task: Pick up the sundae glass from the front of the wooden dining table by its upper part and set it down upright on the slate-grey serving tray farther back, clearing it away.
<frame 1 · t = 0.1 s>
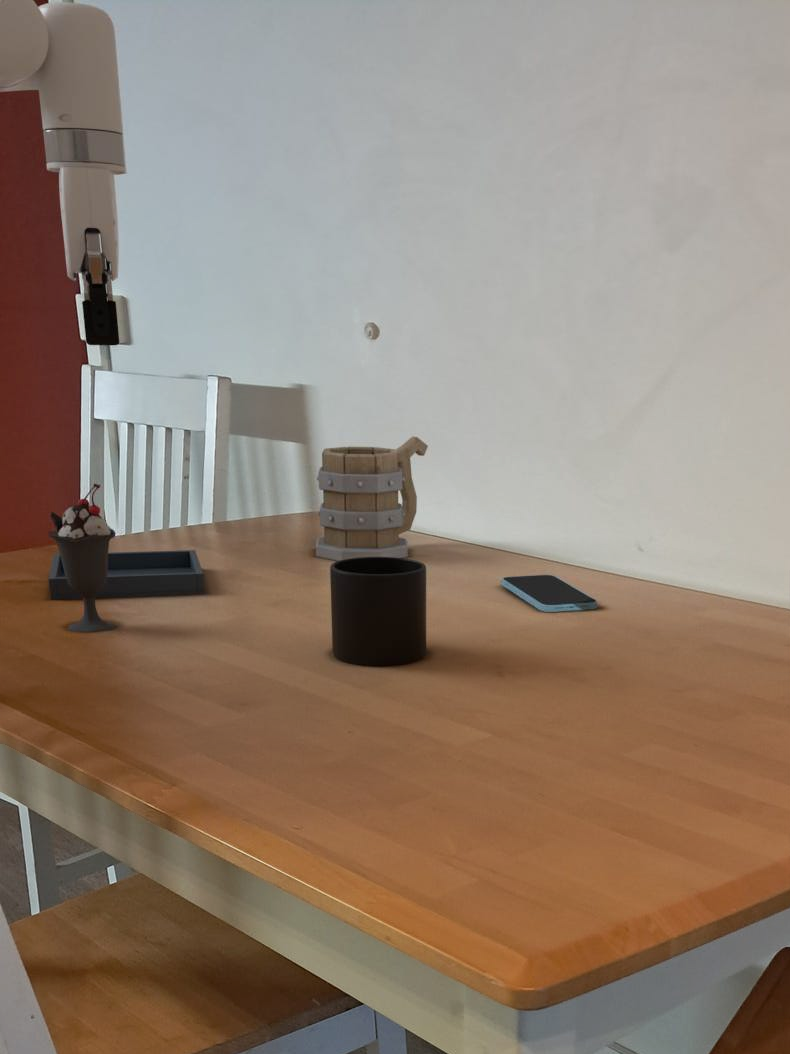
hand: (103, 343, 131), 28 cm above the table, tool pointing down, fingers open, 9 cm apart
smartphone: (547, 599, 154), on the table
sundae: (92, 629, 137), on the table
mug: (377, 654, 130), on the table
tray: (128, 584, 157), on the table
tankard: (380, 552, 181), on the table
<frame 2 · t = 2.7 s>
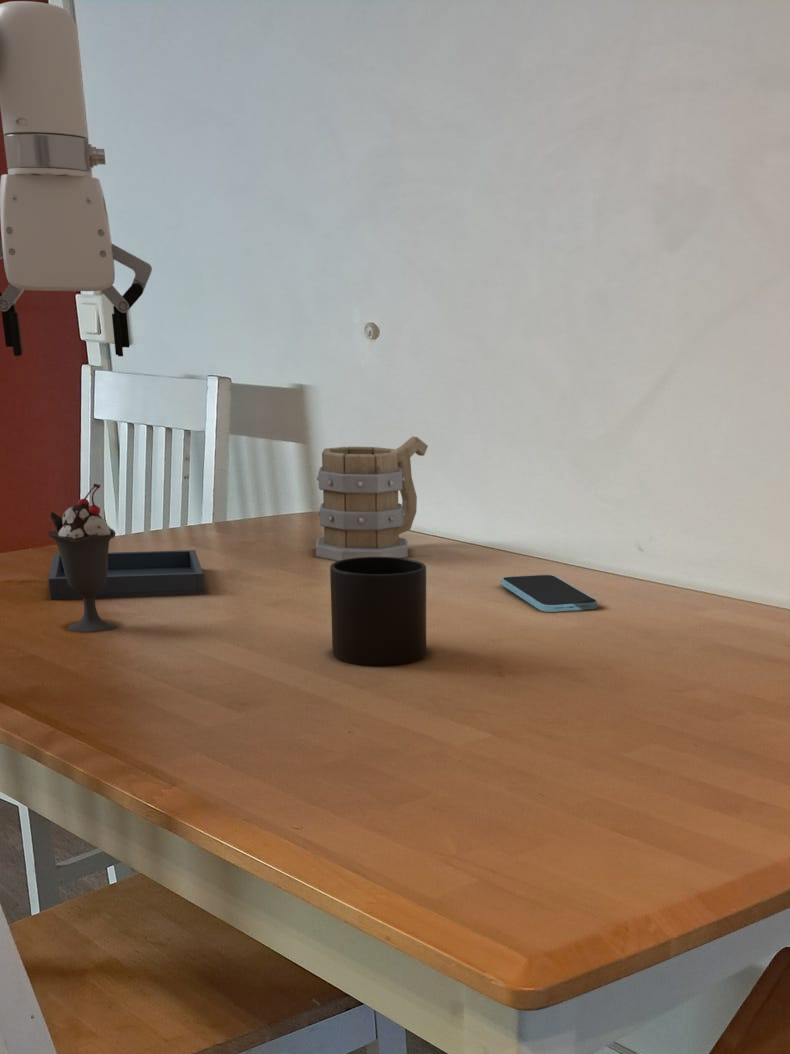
hand: (69, 355, 127), 27 cm above the table, tool pointing down, fingers open, 9 cm apart
nothing on the table moved.
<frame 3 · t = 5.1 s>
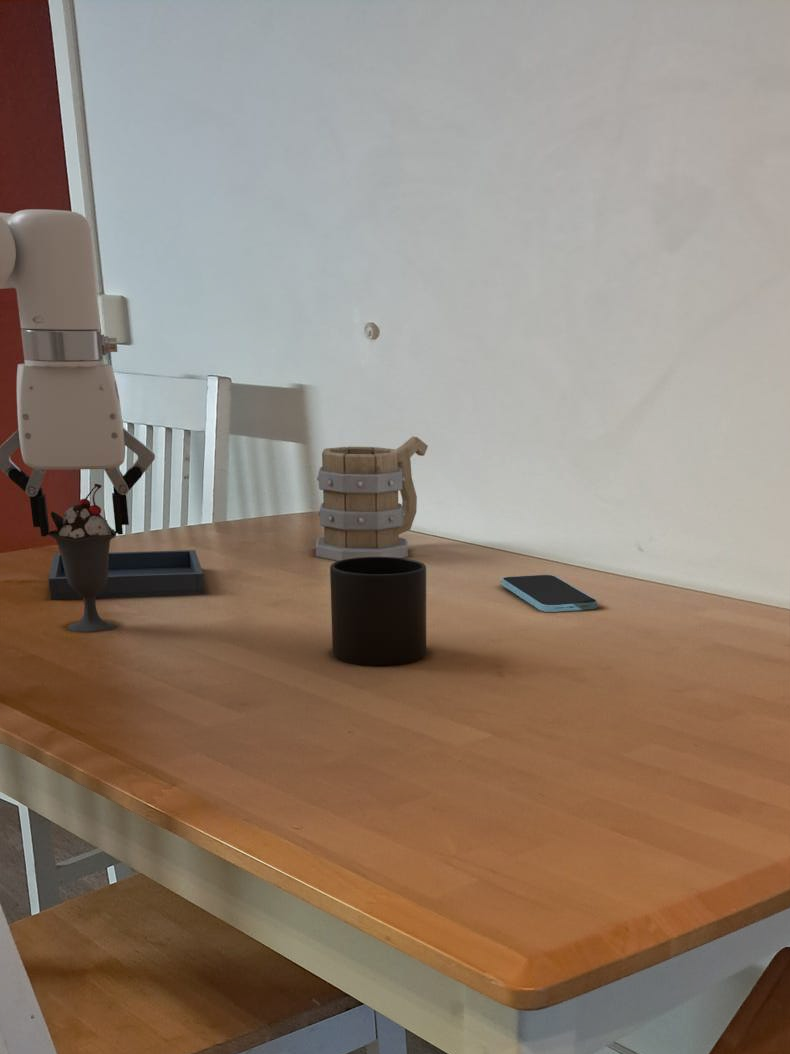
hand: (82, 531, 133), 10 cm above the table, tool pointing down, fingers closed on sundae, 6 cm apart
sundae: (92, 629, 137), on the table, touching gripper
everything else where it was.
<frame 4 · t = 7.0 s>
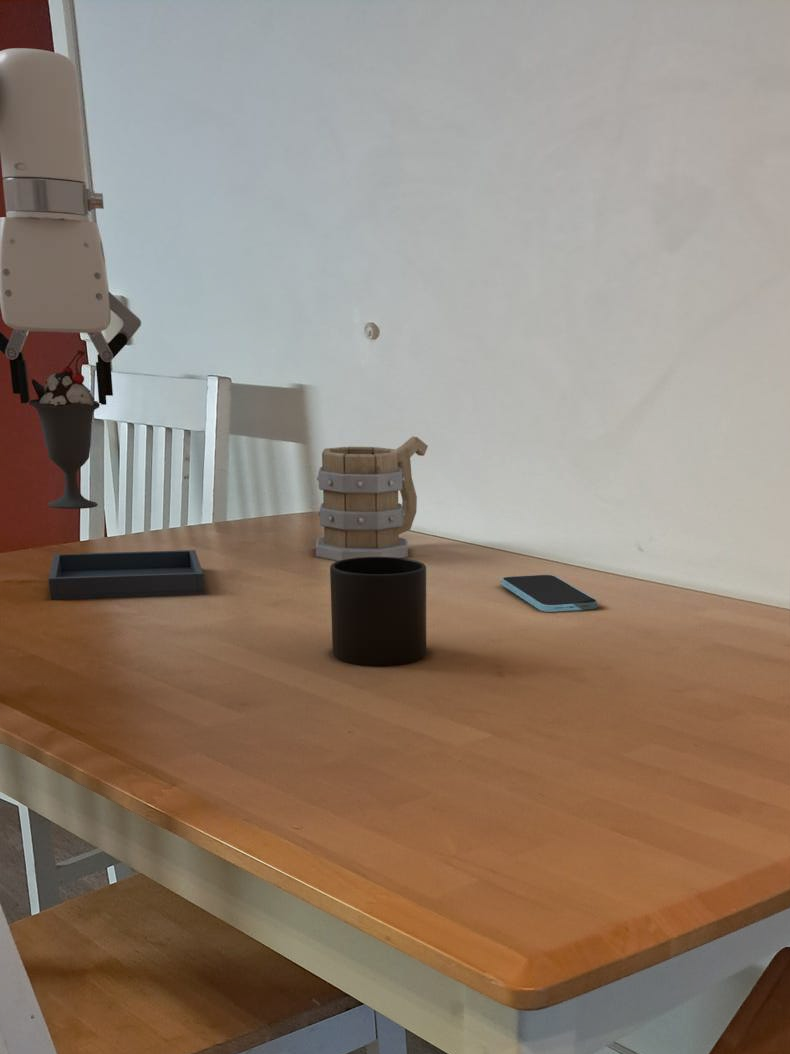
hand: (64, 401, 127), 23 cm above the table, tool pointing down, fingers closed on sundae, 6 cm apart
sundae: (73, 507, 132), point 13 cm above the table, touching gripper
everything else where it was.
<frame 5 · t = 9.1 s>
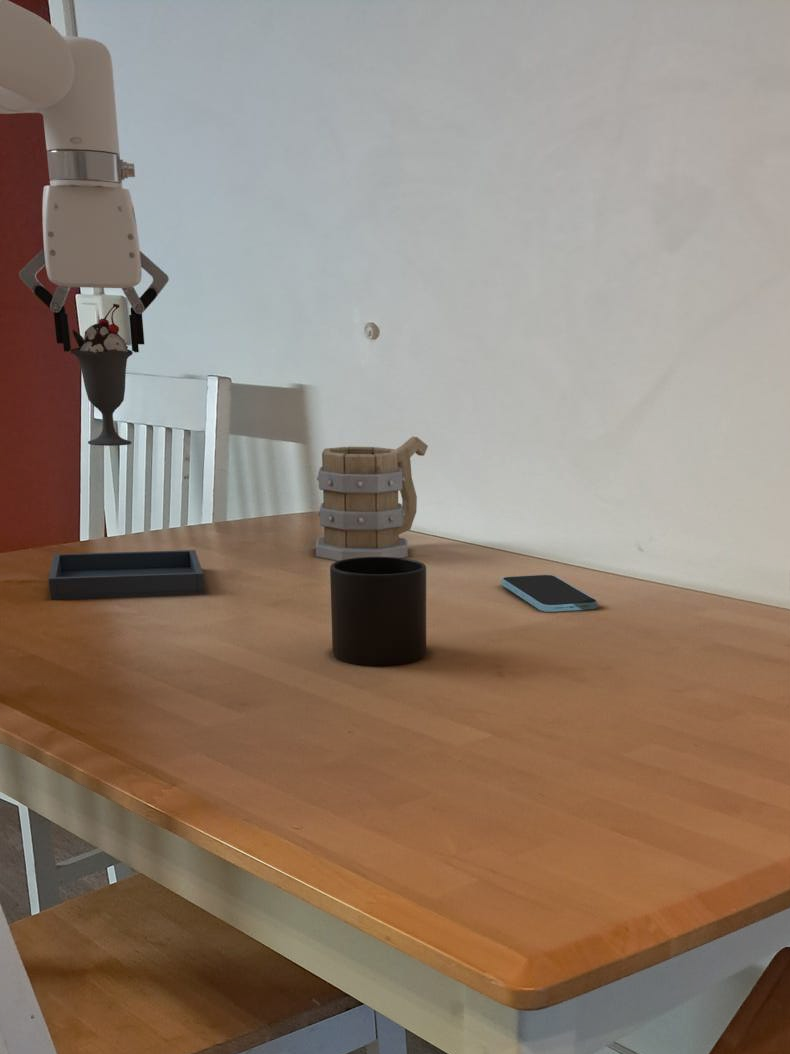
hand: (101, 350, 144), 27 cm above the table, tool pointing down, fingers closed on sundae, 6 cm apart
sundae: (110, 445, 148), point 17 cm above the table, touching gripper
everything else where it was.
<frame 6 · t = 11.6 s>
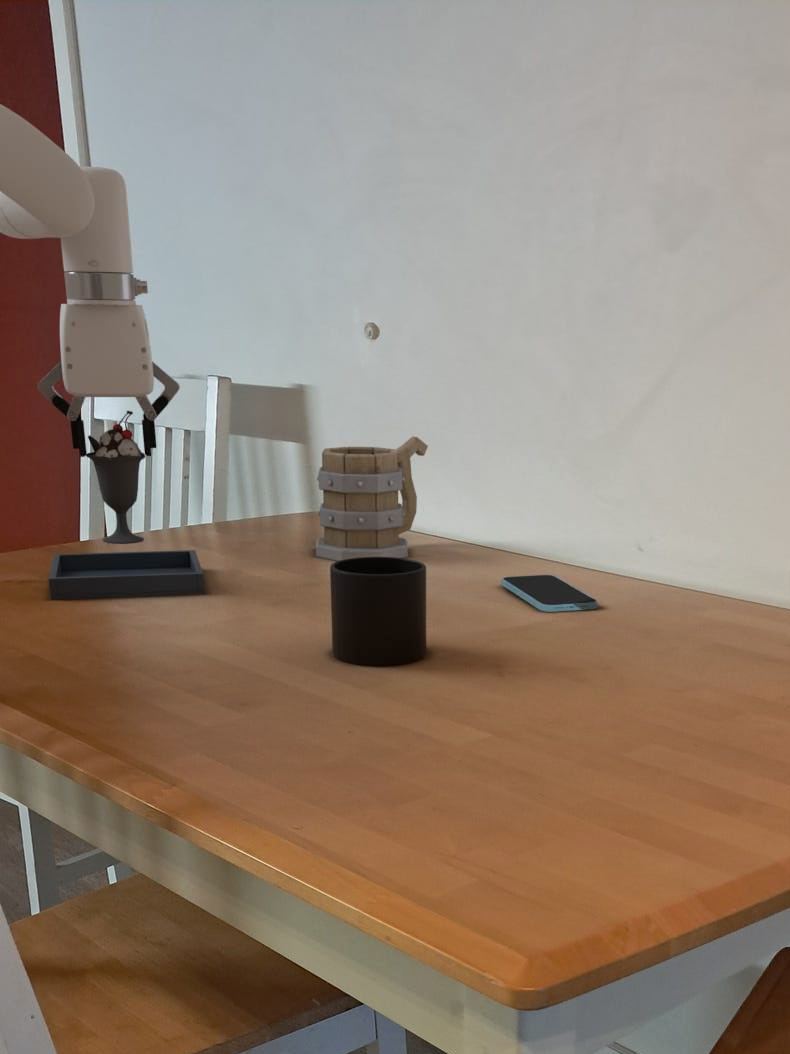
hand: (115, 453, 151), 16 cm above the table, tool pointing down, fingers closed on sundae, 6 cm apart
sundae: (123, 542, 155), point 5 cm above the table, touching gripper
everything else where it was.
when the fingers open (11 cm above the table, at t = 13.4 s): sundae stays where it is, resting on tray.
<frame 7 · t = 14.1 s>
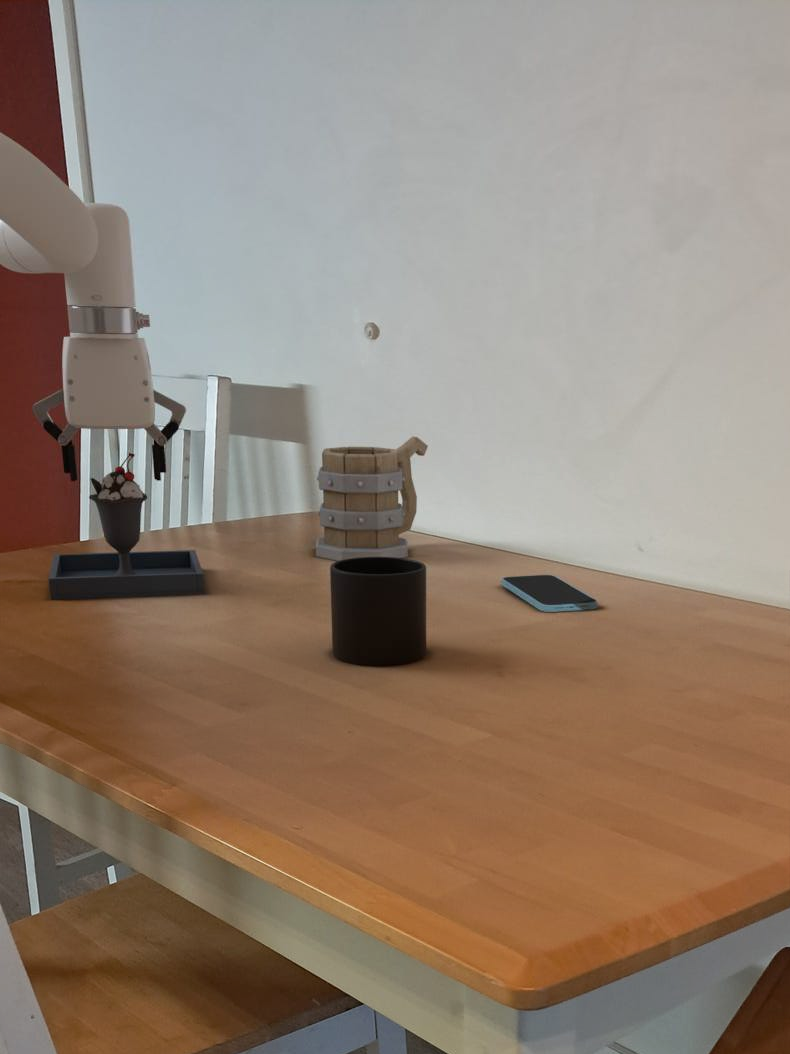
hand: (116, 479, 152), 13 cm above the table, tool pointing down, fingers open, 9 cm apart
sundae: (126, 581, 157), resting on tray
everything else where it was.
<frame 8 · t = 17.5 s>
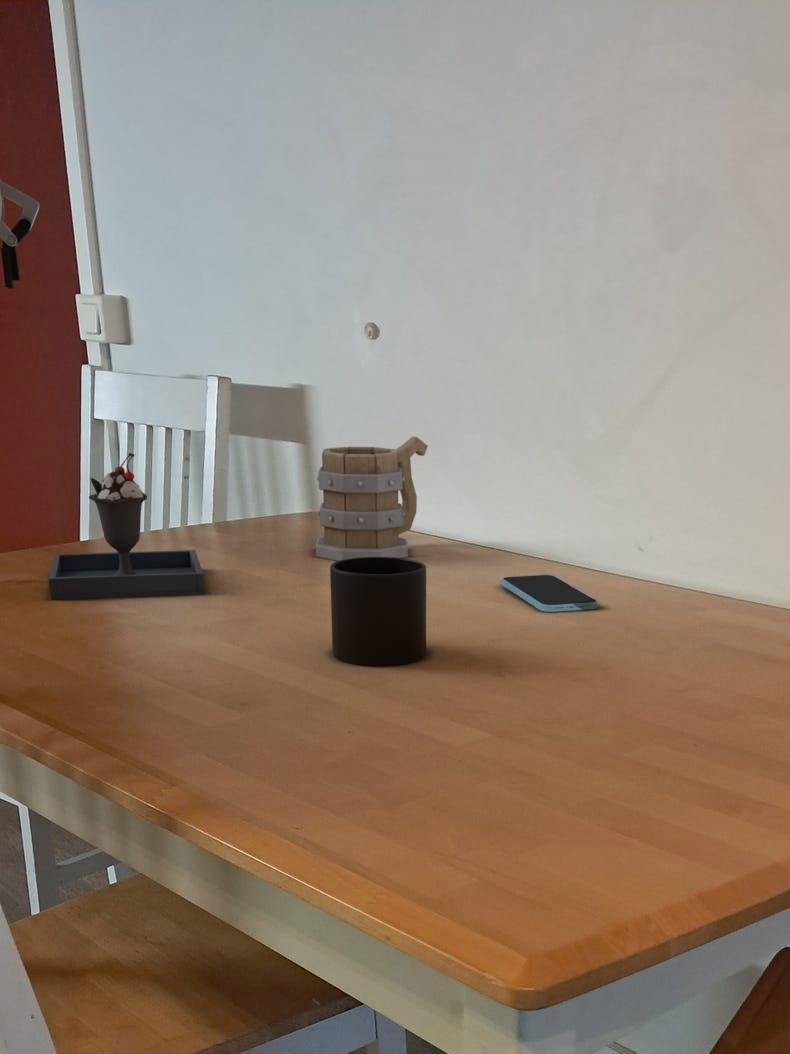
nothing on the table moved.
at the end: sundae inside the target area in the tray (0.1 cm from its centre), point 0.4 cm above the tray's base; sundae tilted 0° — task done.
